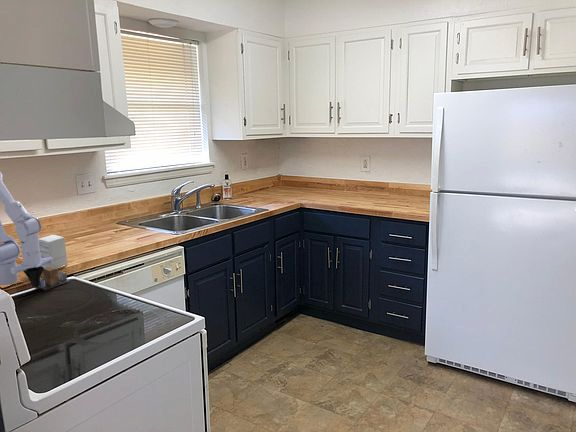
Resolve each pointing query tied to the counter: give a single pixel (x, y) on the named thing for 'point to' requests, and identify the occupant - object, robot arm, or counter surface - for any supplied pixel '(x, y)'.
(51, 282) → the walnut block
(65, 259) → the supplement box
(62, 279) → the vise frame
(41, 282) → the vise jaw
